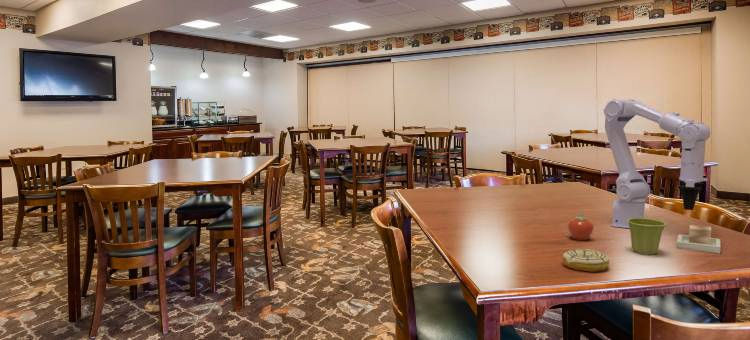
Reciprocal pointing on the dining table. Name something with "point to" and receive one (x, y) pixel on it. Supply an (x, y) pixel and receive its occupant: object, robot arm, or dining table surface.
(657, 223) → the plant pot
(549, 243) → the dining table surface
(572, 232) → the tomato
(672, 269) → the dining table surface
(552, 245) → the dining table surface
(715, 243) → the tray
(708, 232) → the maple block
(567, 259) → the decorated donut
